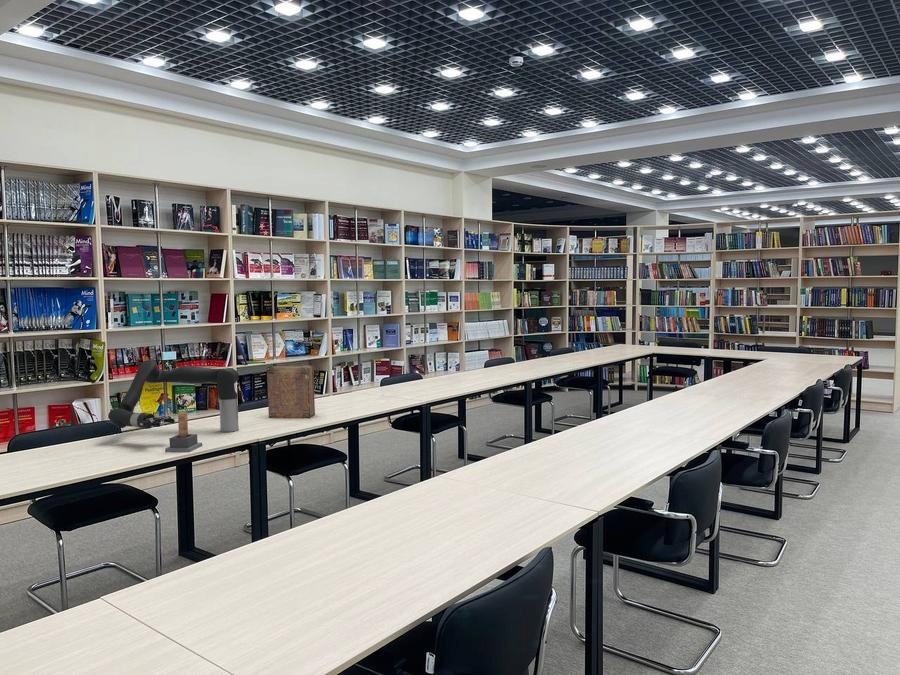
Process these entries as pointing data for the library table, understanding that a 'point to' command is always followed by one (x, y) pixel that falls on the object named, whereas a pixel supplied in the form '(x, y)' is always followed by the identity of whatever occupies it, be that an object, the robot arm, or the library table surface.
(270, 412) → the book
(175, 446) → the socket board
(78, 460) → the library table surface
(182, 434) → the peg
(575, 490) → the library table surface
